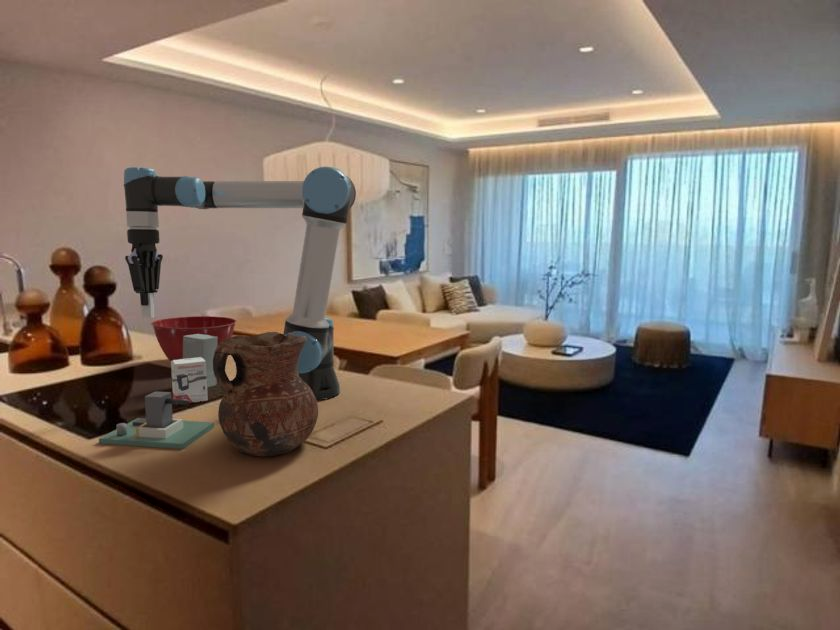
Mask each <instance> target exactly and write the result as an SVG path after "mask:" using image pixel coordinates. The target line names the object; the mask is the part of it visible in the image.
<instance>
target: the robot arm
mask: <svg viewBox="0 0 840 630" xmlns="http://www.w3.org/2000/svg"><path fill="white" fill-rule="evenodd" d="M123 187H124V188H123V189H124V197H125V198H124V200H125V213H126V215H125V216H126V226H127V227H128V229H127V230H126V234H127V235H126V237H127V238H126V239H127V243H129V244H130V245H131V251H130V252H131V253H130V254H129V255H125V257H124V258H125V262H126V263H127V265H128V270H129V274H130V279H131V284H132V288H133V291H134V292H135V293H136V294H139V295H140V298H139V299H140V301H139V302H140V309H141V318H142V319H143V318H146V319H147V318H148V319H149V318H155V296H154V295H155V293H158V291H159V288H160V279H161V266H162V261H163V257H164V256H163V254H159V253H158V251H157V246H156V245H157V244H160V230H158V229H157V228H159V227H160V225H159V223H160V222H159V221H160V220H159V209H158V207H159V206H161V207H164V206H165V207H167V206H168V207H182V208H183V207H185V208H193V209H198V210H209V209H302V214H301V217H302V219H303V220H304V221H305V223H306V226H305V227H306V228H305V232H304V239H303V246H302V252H301V258H300V265H299V271H298V277H297V284H296V290H295V296H294V297H295V298H294V302H293V309H292V312H291V314H290V315H288V316H287V317H286V318H285V321H284V327H283V333H282V334H283V335H284V336H287V333H290V334H293V335H303V336H305V337H306V339H307V341H306V343H305V344H304V346H303V348H302V350H301V353H300V355H299V359H298V374H299V377H300V378H301V379H302V380H303V381H304V382H305V383H306V384H307V385H308V386H309V387H310V388H311V390H312V392H313V394H314V396H315V398H316V400H318V401H319V400H327V399H331V398H334V397H336V396H338V395H339V394H340V393H341V386H340V382H339V378H338V376H337V373H336V371H335V366H334V362H335V361H334V344H335V343H334V329H335V327H334V320H333V319H332V318H331V317H326V313H327V306H328V300H329V295H330V289H331V282H332V278H333V272H334V265H335V259H336V254H337V247H338V242H339V236H340V230H341V229H343V228H344V227H345V226H347V223H348V218H349V212H350V210H351V208H352V207H353V205H354V204H355V202H356V198H357V190H356V187H355V184H354V183H353V181H352V180H351V178H350V177H349V176H348V175H346V174H345V173H344V172H343V171H342V170H340V169H339V168H336V167H332V166H320V167H317V168H315V169H313V170H311V171H310V172H308V174H307V175H306V177H304V180H279V181H278V180H258V181H257V180H255V181H254V180H250V181H249V180H248V181H247V180H246V181H245V180H243V181H241V180H240V181H237V180H235V181H233V180H232V181H231V180H229V181H225V180H224V181H220V180H219V181H218V180H217V181H213V180H212V181H211V180H210V181H207V180H206V181H202V179H201V178H199V177H196V176H187V175H183V176H159V175H157V173H156V170H155V169H153V168H149V167H137V166H135V167H126V169H124V172H123ZM337 394H338V395H337ZM333 396H334V397H333ZM330 397H331V398H330ZM326 398H327V399H326Z"/></svg>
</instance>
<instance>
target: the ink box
mask: <svg viewBox="0 0 840 630" xmlns="http://www.w3.org/2000/svg"><path fill="white" fill-rule="evenodd" d="M170 367H171V369H170V370H171V383H172V384H171V385H172V387H171V388H172V399H186V400H189V401H190V403H189V404H193V402H194V403H199V402H200V401H201V402H205V401H208V399H209V398H208V397H209V395H208V388H207V375H206V361H205V360H204V359H203V358H202V357H198V358H187V359H179V360H173V361H170ZM175 405H176V406H178V404H175Z"/></svg>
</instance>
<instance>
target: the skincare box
mask: <svg viewBox="0 0 840 630" xmlns="http://www.w3.org/2000/svg"><path fill="white" fill-rule="evenodd" d="M217 339H218V337H215V336H210V335H203V334H193V335H186V336H183V359H187V358H198V357H202V358H203V359H204V360H205V361H206V375H207V389H209V388H210V387H215V386H216V385H217V383H218V382H217V380H216V378H215V375H214V371H213V357H214V354H215V353H214V352H215V350H216V348H217Z"/></svg>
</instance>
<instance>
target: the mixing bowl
mask: <svg viewBox="0 0 840 630" xmlns="http://www.w3.org/2000/svg"><path fill="white" fill-rule="evenodd" d="M236 323H237V320H236V319H235V318H231V317H227V316H226V317H224V316H210V315H209V316H208V315H207V316H206V315H205V316H202V315H201V316H200V315H199V316H179V317H178V316H177V317H168V318H162V319H157V320H154V321H152V322H151V323H150V324H151V326H152V328H153V331H154V334H155V335H154V336H155V338H156V340H157V342H158V344H159V347H160V348H161V350H162V352H163V353H164V355H165V357H166V358H167V359H168V360H169V361H170V362H171V361H173V360H179V359H183V336H186V335H193V334H203V335H210V336H215V337H218V339H217V346H218V344H219V343H220V342H222V341H223V340H225V339H226V338H229V337H232V336H233V333H234V329H235V326H236Z"/></svg>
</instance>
